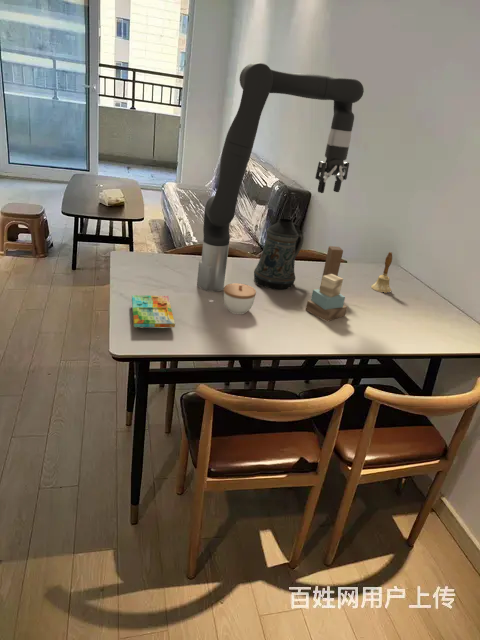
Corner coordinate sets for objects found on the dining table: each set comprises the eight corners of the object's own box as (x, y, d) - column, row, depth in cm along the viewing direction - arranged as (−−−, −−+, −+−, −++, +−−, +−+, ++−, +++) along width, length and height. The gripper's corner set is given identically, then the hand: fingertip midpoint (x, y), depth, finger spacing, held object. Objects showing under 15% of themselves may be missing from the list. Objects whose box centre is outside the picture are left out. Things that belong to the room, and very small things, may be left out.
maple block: (330, 297, 162) (334, 281, 159) (319, 291, 165) (322, 275, 162) (339, 294, 165) (343, 278, 162) (328, 289, 168) (331, 273, 165)
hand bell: (384, 294, 192) (394, 257, 185) (367, 287, 198) (376, 250, 191) (395, 291, 198) (405, 254, 191) (378, 283, 203) (388, 248, 196)
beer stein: (247, 283, 184) (256, 220, 173) (262, 269, 201) (271, 210, 190) (287, 293, 180) (299, 229, 169) (300, 278, 197) (311, 219, 186)
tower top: (324, 309, 162) (327, 299, 160) (310, 300, 168) (313, 289, 166) (342, 307, 166) (345, 296, 164) (328, 297, 172) (330, 287, 170)
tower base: (326, 322, 162) (329, 312, 160) (305, 311, 169) (307, 300, 167) (344, 316, 168) (347, 306, 167) (323, 305, 175) (325, 295, 173)
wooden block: (337, 299, 181) (348, 254, 173) (326, 298, 180) (336, 253, 173) (329, 289, 189) (339, 246, 181) (319, 289, 188) (328, 245, 180)
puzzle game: (168, 293, 156) (175, 321, 138) (167, 306, 158) (174, 335, 140) (131, 292, 153) (134, 320, 135) (131, 305, 155) (133, 335, 137)
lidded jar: (237, 301, 168) (240, 276, 164) (259, 313, 161) (263, 287, 157) (214, 307, 160) (217, 282, 156) (236, 320, 154) (240, 293, 150)
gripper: (342, 143, 169) (333, 189, 176) (316, 141, 160) (307, 190, 167) (359, 146, 164) (349, 194, 171) (333, 145, 155) (323, 195, 162)
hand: (328, 192), depth 169 cm, fingers open, 8 cm apart
